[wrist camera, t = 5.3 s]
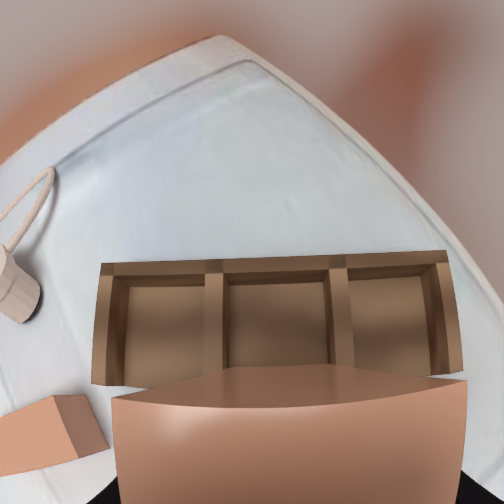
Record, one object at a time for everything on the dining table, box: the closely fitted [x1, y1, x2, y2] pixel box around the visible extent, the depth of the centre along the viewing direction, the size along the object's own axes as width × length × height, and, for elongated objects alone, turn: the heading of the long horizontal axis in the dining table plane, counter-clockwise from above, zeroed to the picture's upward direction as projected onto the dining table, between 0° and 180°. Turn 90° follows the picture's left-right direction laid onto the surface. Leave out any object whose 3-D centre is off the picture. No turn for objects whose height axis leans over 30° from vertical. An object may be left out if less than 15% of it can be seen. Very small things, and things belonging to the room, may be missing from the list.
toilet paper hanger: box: [0, 166, 55, 324], centre depth 26 cm, size 20×5×16 cm
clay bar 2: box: [111, 363, 467, 504], centre depth 9 cm, size 5×5×13 cm
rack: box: [91, 250, 463, 389], centre depth 21 cm, size 9×26×4 cm, turn 91°
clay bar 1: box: [0, 395, 110, 477], centre depth 18 cm, size 13×5×5 cm, turn 119°
